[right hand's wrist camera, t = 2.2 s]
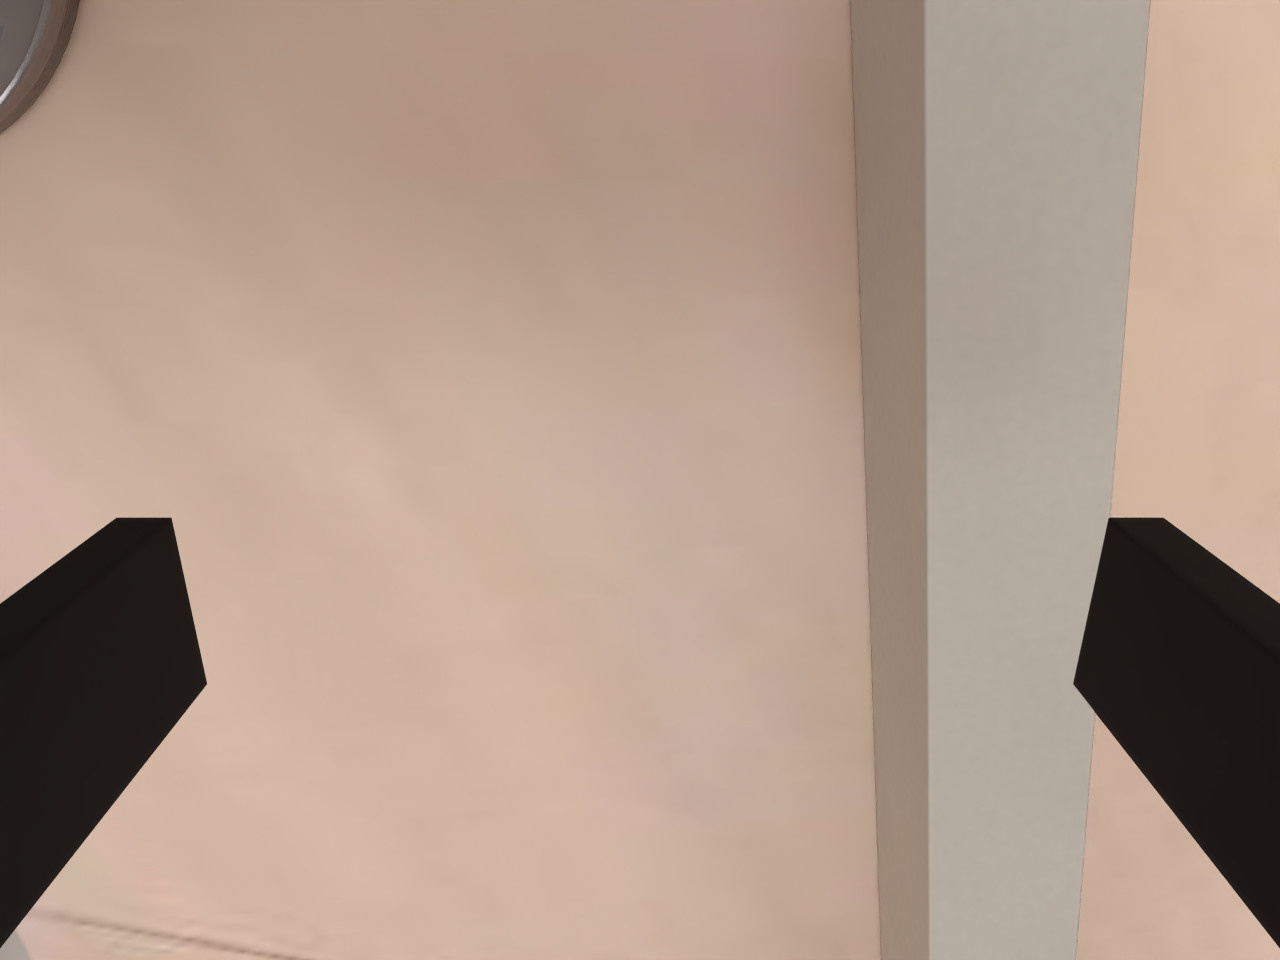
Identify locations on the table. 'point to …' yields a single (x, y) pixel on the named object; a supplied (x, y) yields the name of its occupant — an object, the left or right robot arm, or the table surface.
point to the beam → (989, 443)
